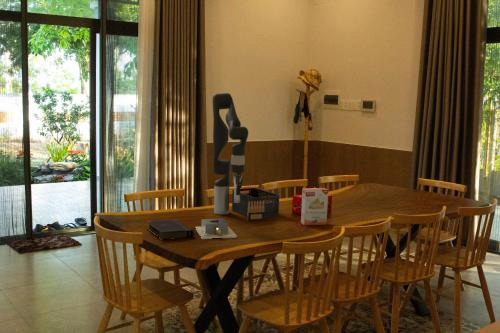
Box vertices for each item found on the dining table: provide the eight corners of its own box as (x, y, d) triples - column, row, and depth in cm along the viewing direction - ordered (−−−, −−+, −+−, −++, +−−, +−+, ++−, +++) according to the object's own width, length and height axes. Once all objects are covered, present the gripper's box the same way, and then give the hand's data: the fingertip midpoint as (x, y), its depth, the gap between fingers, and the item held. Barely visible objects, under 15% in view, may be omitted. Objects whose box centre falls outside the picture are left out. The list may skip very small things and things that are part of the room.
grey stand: (195, 228, 309) (195, 218, 308) (227, 227, 313) (227, 217, 312) (202, 239, 288) (202, 228, 287) (236, 237, 292) (236, 227, 291)
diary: (177, 227, 313) (178, 218, 313) (194, 238, 291) (194, 229, 291) (145, 230, 305) (145, 220, 304) (159, 241, 283) (159, 232, 282)
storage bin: (281, 216, 346) (281, 194, 344) (255, 219, 335) (255, 197, 333) (254, 207, 369) (255, 187, 367) (229, 210, 358) (229, 189, 356)
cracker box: (304, 226, 321) (305, 189, 318) (300, 223, 327) (301, 188, 324) (327, 225, 325) (328, 189, 322) (323, 222, 331) (324, 187, 328)
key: (232, 201, 312) (233, 179, 310) (239, 201, 313) (240, 179, 311) (234, 203, 308) (234, 180, 306) (241, 202, 309) (241, 180, 307)
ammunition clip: (247, 221, 329) (248, 201, 327) (246, 220, 331) (247, 200, 329) (264, 220, 333) (265, 200, 331) (263, 219, 334) (264, 199, 333)
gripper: (228, 161, 313) (227, 192, 315) (234, 165, 299) (233, 197, 302) (241, 161, 315) (240, 191, 317) (247, 165, 301) (247, 196, 304)
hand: (237, 194), depth 309 cm, fingers closed on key, 3 cm apart
